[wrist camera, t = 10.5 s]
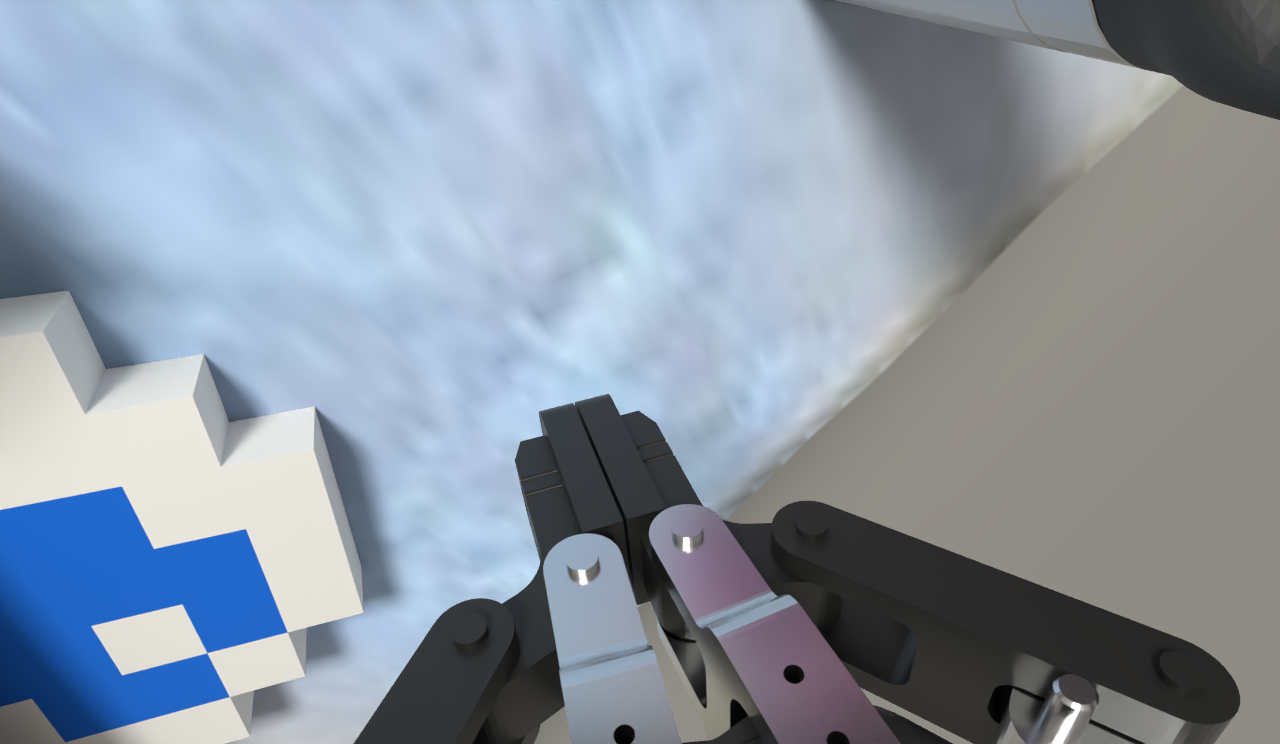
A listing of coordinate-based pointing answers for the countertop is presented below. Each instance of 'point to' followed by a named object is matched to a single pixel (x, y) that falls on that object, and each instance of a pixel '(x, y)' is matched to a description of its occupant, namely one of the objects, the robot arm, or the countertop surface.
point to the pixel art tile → (152, 543)
